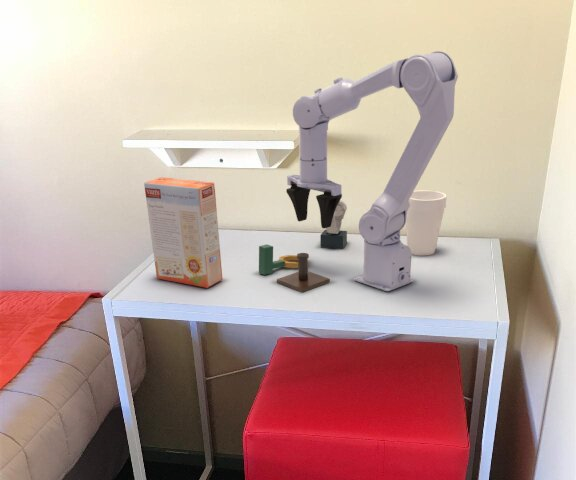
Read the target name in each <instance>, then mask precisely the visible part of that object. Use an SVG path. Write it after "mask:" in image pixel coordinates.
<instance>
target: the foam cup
mask: <svg viewBox="0 0 576 480" xmlns="http://www.w3.org/2000/svg"><path fill="white" fill-rule="evenodd" d="M409 203H410V207H409V209H408V211H407V218H406V223H405V230H406V246H408V247H409V248H410V250H411V255H414V256H430V255H433V254H435V253H436V249H437V245H438V239H439V236H440V231H441V226H442V221H443V216H444V213H445V208H446V207H447V193H444V192H442V191H437V190H429V189H421V190H419V189H418V190H414V191H413V193H412V195H411V197H410V199H409Z"/></svg>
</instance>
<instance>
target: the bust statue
mask: <svg viewBox="0 0 576 480" xmlns="http://www.w3.org/2000/svg"><path fill="white" fill-rule="evenodd" d="M347 210H348V207H347V204H346V203H345V201H343V200H341V199H340V201H339V203H338V205H337V207H336V209H335V212H334V215H333V219H332V223H331V227H328V228H325V229H324V230H323V231H322V232H321V234H320V248H321V249H334V250H335V249H336V250H337V249H338V250H344V249H345V247H346V245H347V244H348V231H347V230H341V228H342V222H343V220H344V218H345V215H346V212H347Z"/></svg>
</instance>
